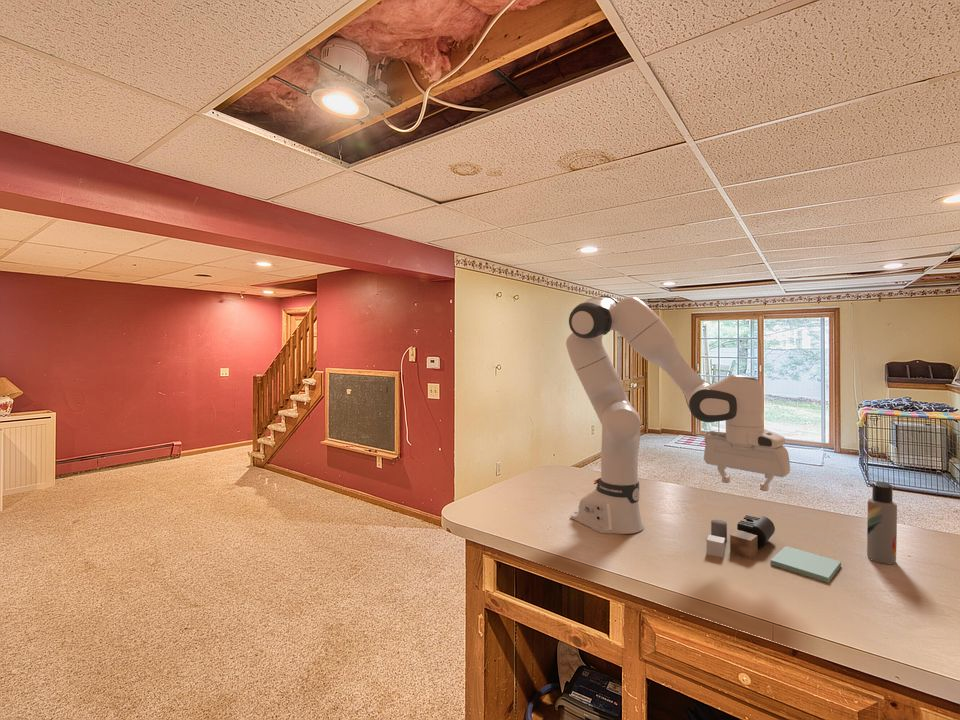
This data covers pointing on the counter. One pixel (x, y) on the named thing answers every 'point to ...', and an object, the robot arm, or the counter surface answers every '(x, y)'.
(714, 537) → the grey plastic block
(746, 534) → the walnut block
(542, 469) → the counter surface
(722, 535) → the grey rounded piece
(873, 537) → the lotion bottle
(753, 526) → the end cap
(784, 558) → the teal board
